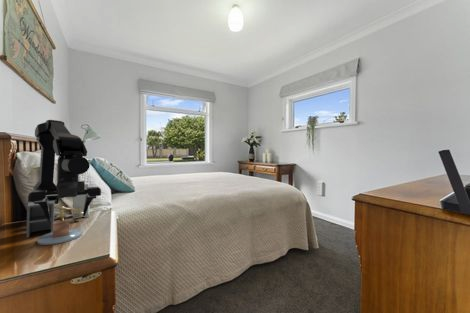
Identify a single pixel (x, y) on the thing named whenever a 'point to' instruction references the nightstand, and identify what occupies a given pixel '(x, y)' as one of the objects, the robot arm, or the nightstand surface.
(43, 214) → the covering hood
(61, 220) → the balance
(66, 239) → the dish
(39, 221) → the empty hood
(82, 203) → the skincare box
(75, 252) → the nightstand surface
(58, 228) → the block
